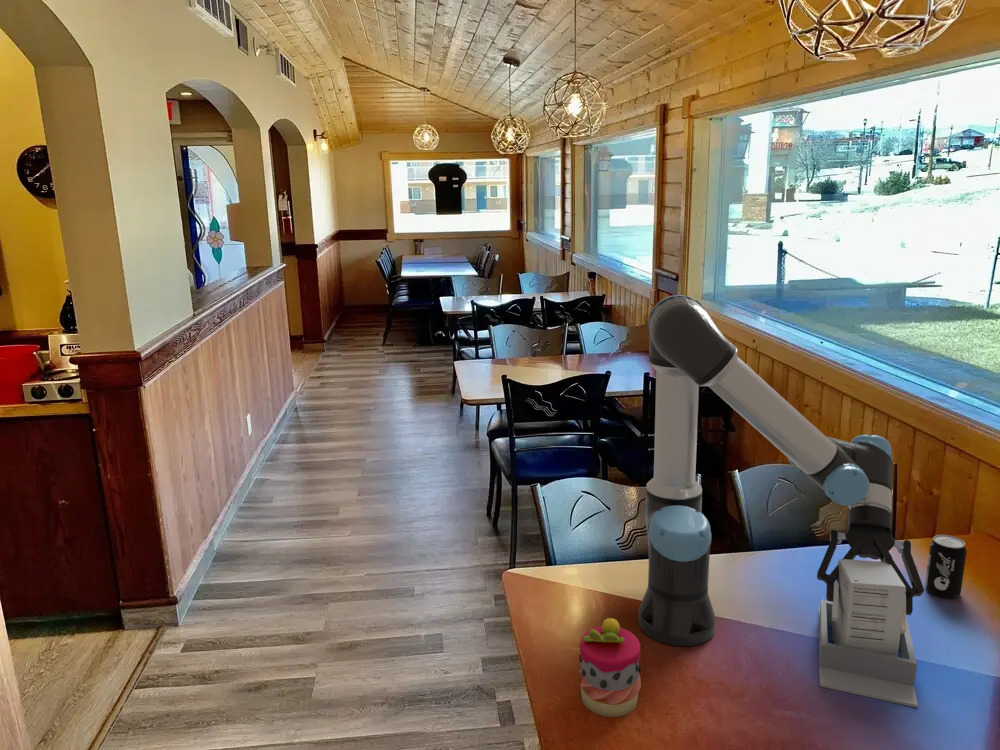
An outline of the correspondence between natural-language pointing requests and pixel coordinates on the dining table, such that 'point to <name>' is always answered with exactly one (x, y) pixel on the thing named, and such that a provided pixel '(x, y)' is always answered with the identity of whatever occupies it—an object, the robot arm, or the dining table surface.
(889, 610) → the supplement box
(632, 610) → the dining table surface
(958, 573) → the beverage can
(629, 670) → the cake
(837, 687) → the grey open box
